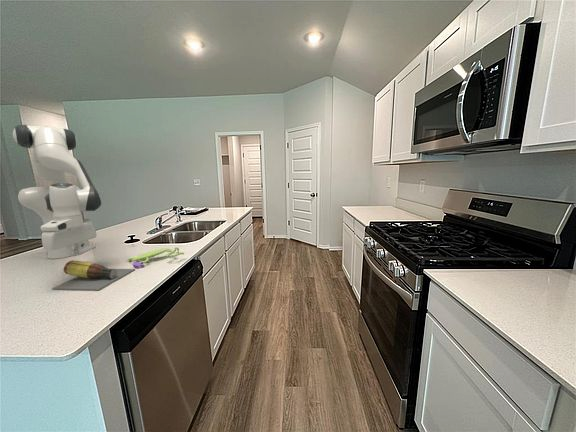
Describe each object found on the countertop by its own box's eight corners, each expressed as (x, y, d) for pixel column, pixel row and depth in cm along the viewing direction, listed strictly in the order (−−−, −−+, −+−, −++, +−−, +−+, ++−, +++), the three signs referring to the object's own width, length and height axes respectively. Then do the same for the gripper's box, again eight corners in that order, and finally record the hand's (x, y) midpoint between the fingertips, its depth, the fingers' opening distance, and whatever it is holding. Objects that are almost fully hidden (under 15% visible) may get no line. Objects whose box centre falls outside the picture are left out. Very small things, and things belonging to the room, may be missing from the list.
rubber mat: (95, 269, 115) (95, 268, 115) (135, 270, 113) (135, 268, 113) (52, 289, 95) (51, 288, 95) (98, 290, 94) (98, 289, 94)
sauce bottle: (66, 277, 103) (109, 285, 102) (59, 267, 100) (104, 276, 98) (79, 266, 108) (120, 274, 107) (73, 256, 105) (116, 264, 103)
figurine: (185, 262, 123) (184, 252, 122) (123, 272, 112) (121, 260, 111) (184, 252, 139) (183, 242, 138) (130, 259, 129) (129, 249, 128)
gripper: (84, 217, 111) (90, 246, 113) (35, 227, 91) (42, 262, 93) (97, 217, 110) (102, 246, 113) (50, 227, 90) (57, 262, 93)
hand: (75, 254), depth 103 cm, fingers closed
